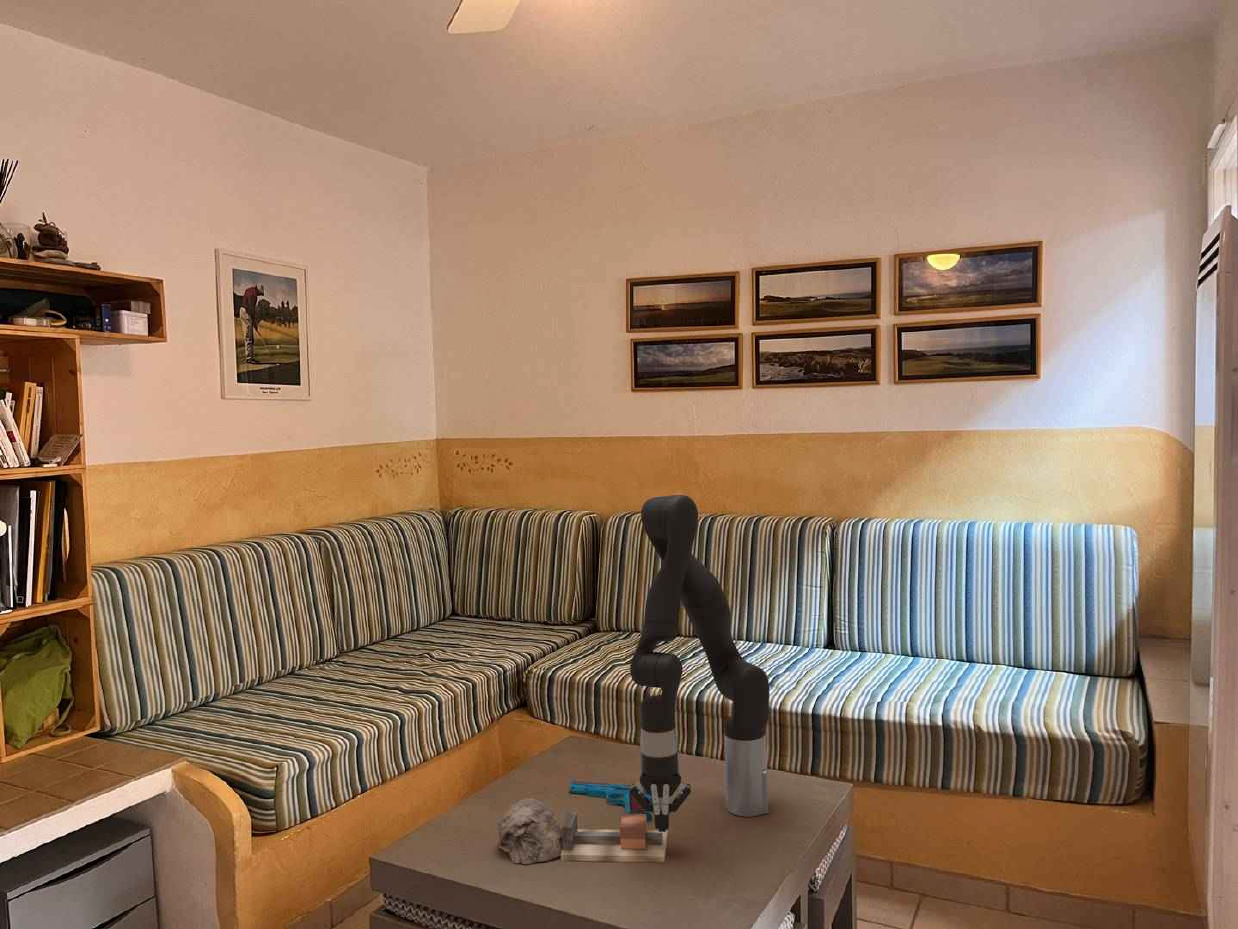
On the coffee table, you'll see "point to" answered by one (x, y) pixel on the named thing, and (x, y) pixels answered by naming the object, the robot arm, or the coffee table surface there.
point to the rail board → (607, 844)
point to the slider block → (633, 831)
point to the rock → (530, 832)
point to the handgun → (612, 795)
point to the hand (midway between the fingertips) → (662, 830)
